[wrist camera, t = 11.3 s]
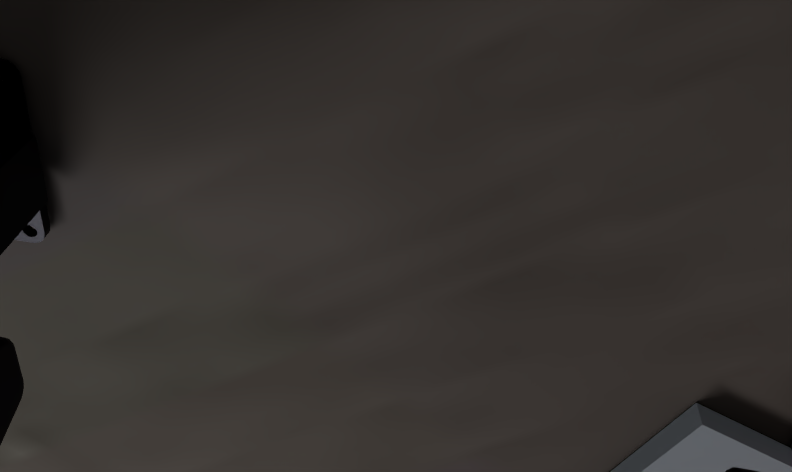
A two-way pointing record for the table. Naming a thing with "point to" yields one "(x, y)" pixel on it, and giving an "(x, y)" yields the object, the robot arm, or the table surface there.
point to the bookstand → (708, 447)
